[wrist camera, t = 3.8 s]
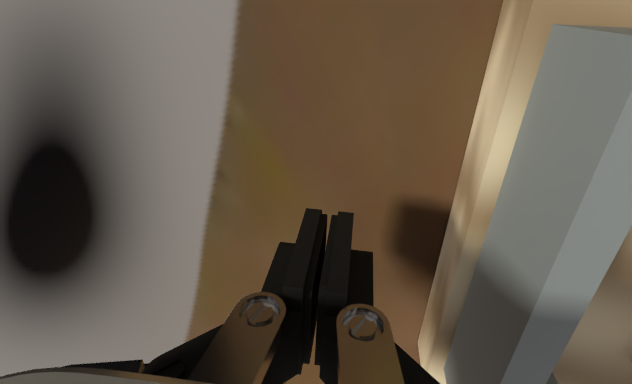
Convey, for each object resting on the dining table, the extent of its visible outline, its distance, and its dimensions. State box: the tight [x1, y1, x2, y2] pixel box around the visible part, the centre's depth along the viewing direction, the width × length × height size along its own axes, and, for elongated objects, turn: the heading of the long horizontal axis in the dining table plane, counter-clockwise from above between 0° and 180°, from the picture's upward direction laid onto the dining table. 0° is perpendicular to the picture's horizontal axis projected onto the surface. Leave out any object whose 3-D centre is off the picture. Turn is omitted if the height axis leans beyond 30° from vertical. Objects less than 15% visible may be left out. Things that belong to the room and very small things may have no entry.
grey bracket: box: [444, 24, 632, 384], centre depth 11 cm, size 14×4×4 cm, turn 178°
